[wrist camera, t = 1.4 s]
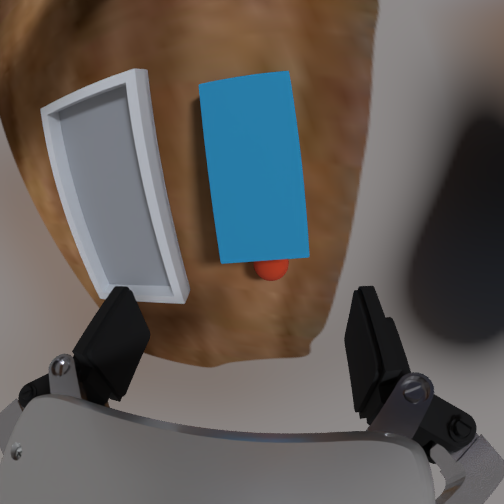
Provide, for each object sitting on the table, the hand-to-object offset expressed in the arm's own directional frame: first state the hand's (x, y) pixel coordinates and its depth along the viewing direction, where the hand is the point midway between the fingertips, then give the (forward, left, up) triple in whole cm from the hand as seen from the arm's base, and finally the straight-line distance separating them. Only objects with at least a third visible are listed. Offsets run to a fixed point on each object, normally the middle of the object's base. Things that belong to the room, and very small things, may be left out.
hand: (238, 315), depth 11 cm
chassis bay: (0, -15, -16) cm, 22 cm away
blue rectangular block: (0, 0, -16) cm, 16 cm away
